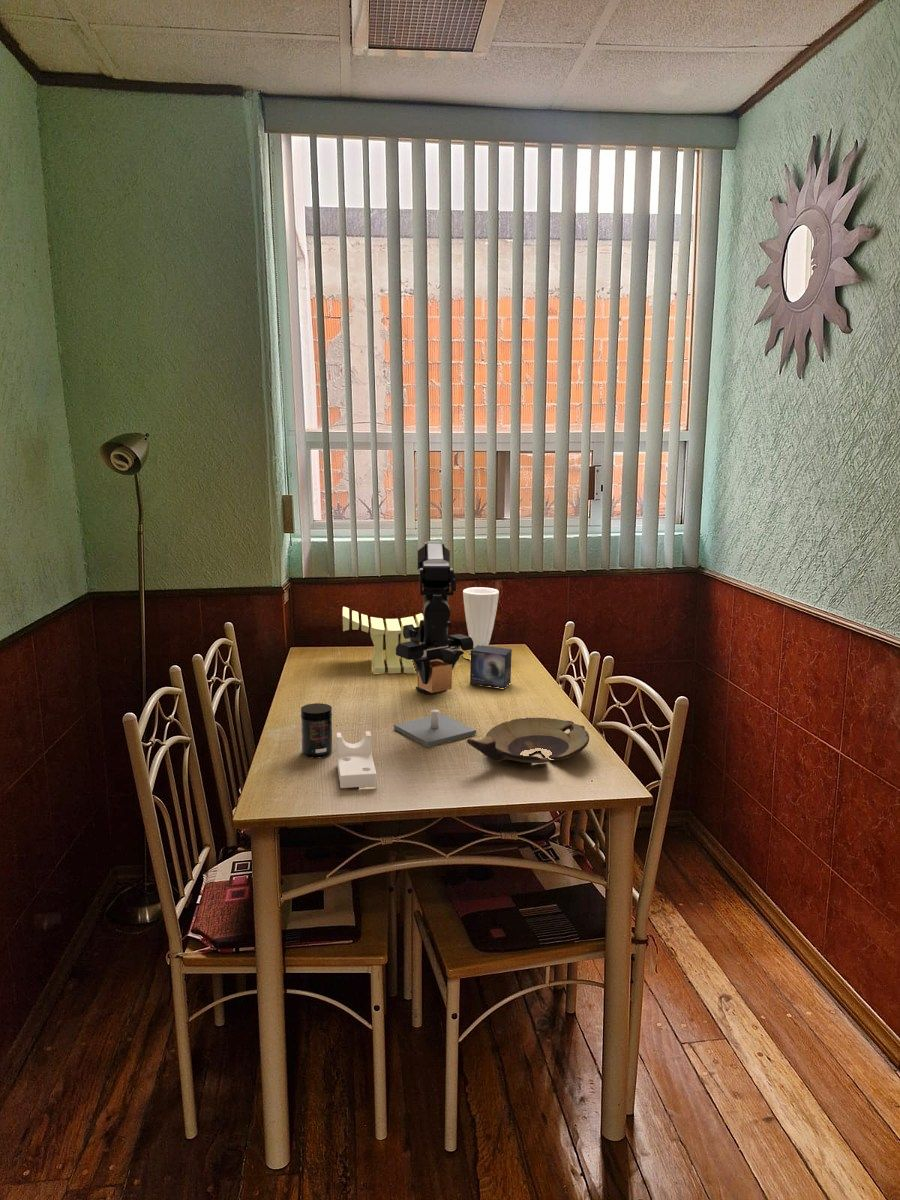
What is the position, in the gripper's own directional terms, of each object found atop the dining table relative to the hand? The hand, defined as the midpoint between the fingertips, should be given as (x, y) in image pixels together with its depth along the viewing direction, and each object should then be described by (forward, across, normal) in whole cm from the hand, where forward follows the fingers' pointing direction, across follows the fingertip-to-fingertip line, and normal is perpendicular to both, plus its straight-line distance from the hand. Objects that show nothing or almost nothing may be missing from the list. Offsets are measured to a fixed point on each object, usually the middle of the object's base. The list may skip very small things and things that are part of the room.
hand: (435, 681), depth 190 cm
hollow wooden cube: (+2, 0, 0) cm, 2 cm away
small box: (+12, -35, -22) cm, 43 cm away
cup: (+12, -51, -47) cm, 70 cm away
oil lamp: (+13, -8, +23) cm, 28 cm away
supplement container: (+13, +29, -4) cm, 32 cm away
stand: (+12, 0, 0) cm, 12 cm away
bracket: (+13, +28, +12) cm, 33 cm away
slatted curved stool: (+12, -22, -53) cm, 58 cm away
